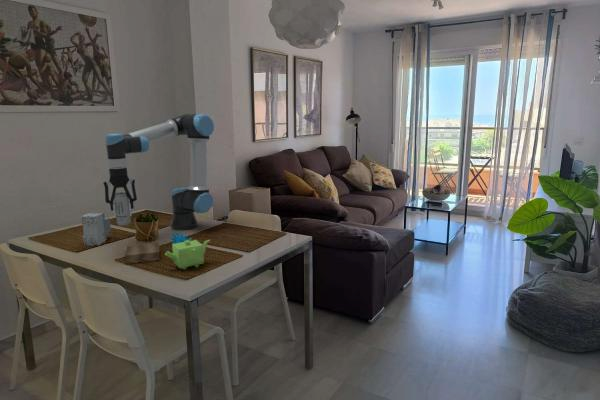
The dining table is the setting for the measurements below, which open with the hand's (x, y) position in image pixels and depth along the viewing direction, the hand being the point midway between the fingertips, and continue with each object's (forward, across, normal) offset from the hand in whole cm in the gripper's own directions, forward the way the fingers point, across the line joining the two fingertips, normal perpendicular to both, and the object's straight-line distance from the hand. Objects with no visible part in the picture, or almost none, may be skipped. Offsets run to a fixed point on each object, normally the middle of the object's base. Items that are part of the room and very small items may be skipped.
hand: (123, 216), depth 193 cm
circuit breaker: (+18, +14, -23) cm, 32 cm away
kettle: (+18, -26, +31) cm, 45 cm away
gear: (+18, -25, +5) cm, 31 cm away
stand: (+17, -8, +12) cm, 23 cm away
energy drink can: (+4, 0, 0) cm, 4 cm away
